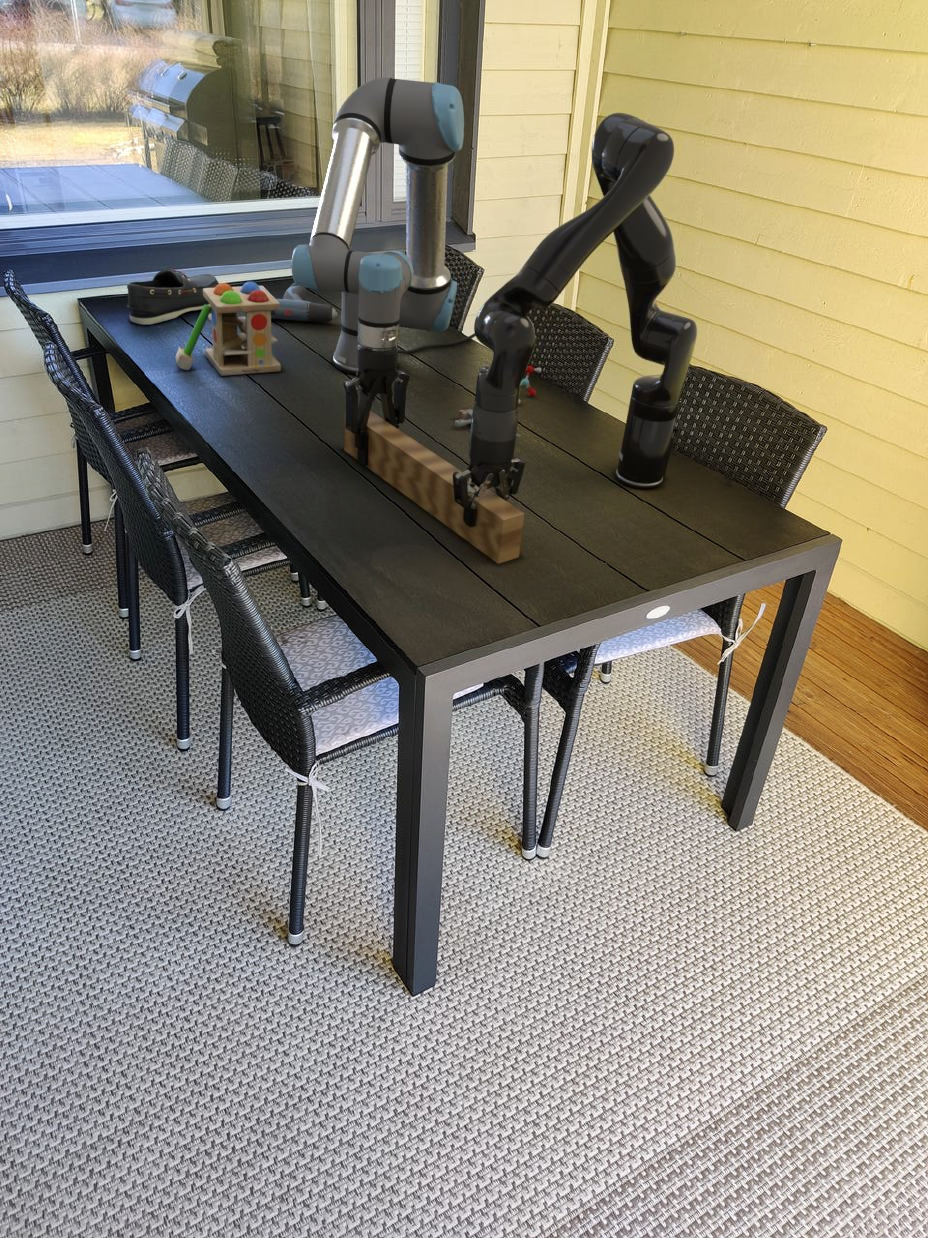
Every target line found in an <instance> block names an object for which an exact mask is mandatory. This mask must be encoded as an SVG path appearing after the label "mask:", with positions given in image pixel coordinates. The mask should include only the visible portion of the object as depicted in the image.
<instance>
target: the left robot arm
mask: <svg viewBox="0 0 928 1238" xmlns="http://www.w3.org/2000/svg"><path fill="white" fill-rule="evenodd" d="M463 103H464V102H463V98H462V95H461V92H460V91H459V89H458V88H457V87H456V86H454V85H450V84H444V83H440V82H438V81H435V82H430V81H429V82H428V81H420V80H410V79H400V78H392V77H386V76H385V77H377V78H373V79H371V80H368V81H366V82H364V83H363V84H362V85H360V86H359V87H357V88H356V89H355V90H354V91H352V93H351V94H350V95H348V97H347V98H346V99H345V101H344V102H343V103H342V104H341V107H340V108H339V110H338V112H337V113H336V116H335V119H334V121H333V126H332V129H331V138H332V141H333V142H334V144H333V147H332V151H331V156H330V159H329V163H328V168H327V172H326V176H325V180H324V184H323V187H322V190H321V191H322V192H321V196H320V200H319V204H318V207H317V212H316V216H315V219H314V224H313V227H312V231H311V236H310V241H309V243H307V244H298V245H296V247H294V249H293V252H292V257H291V275H292V276H291V277H292V279H293V283H296V284H297V285H299V286H303V287H306V289H307V288H309V289H313V290H323V291H330V292H331V291H333V292H340V293H341V313H340V314H341V316H340V317H341V319H340V321H341V324H340V325H341V326H340V329H341V330H340V336H339V338H338V341H337V344H336V348H335V350H334V352H333V361H332V362H333V363H332V364H333V366H334V367H335V368H337V369H338V370H339V371H342V372H344V373H347V374H352V375H355V377H354V378H353V379H351V380H348V379H346V380H344V381H343V383H342V384H343V388H344V391H345V411H346V426H345V425H344V428H345V427H346V429H348V430H349V431H350V432H352V433H353V434H355V447H356V448H357V449H358V455H357V459H356V461H357V462H358V463H360V465H363V467H366V466H368V446H369V434H367V433H366V427H367V423H368V419H369V415H370V411H371V410H372V406H373V402H374V401H375V400H376V396H377V395H379V397H380V403H381V407H382V413H383V420H385V421H386V422H388V423H389V424H391V425H392V426H394V427H395V428H397V429H398V430H399V428H400V425H399V424H401V425H402V424H404V423H405V419H406V402H407V386H408V383H409V381H410V375H409V374H408V373H406V372H405V371H403V370H398V367H397V366H398V364H399V354H403V355H407V354H413V353H416V352H419V351H422V350H425V349H431V348H440V347H449V346H454V345H458V344H461V343H465V342H467V341H469V340H472V339H474V338H475V337H476V335H475V332H474V333H472V334H470V335H469V336H466V337H464V338H460V339H457V340H453V341H449V342H442V343H431V344H424V345H421V346H418V347H414V348H411V349H406V350H402V349H399V347H398V344H399V341H400V340H399V339H400V328H405V329H414V330H422V331H427V332H429V333H430V332H438V333H439V332H441V333H442V332H445V331H446V330H448V328H449V325H450V323H451V318H452V314H453V310H454V305H455V300H456V296H457V290H458V283H457V281H455V280H453V279H451V278H452V275H451V270H450V269H449V268H448V267H447V266H446V265H445V262H446V261H445V260H446V259H445V258H446V257H445V256H446V255H445V254H446V227H447V226H446V223H447V195H448V194H447V192H448V191H447V190H448V165H449V164H450V163H451V162H453V161H454V159H455V158H456V153H458V152H459V151H461V150H462V148H463V144H464V138H465V129H464V128H465V114H464V104H463ZM383 143H386V144H391V145H398V156H399V158H400V159H401V160H402V161H403V162H404V163H405V164H406V165H405V171H406V173H405V174H406V175H405V176H406V177H405V184H406V185H405V187H406V191H405V193H406V194H405V195H406V197H405V202H406V205H405V206H406V207H405V209H406V211H405V212H406V213H405V214H406V216H405V217H406V223H405V224H406V226H405V227H406V228H405V231H406V232H405V233H406V234H405V235H406V236H405V238H406V241H405V243H406V247H405V249H406V253H403V252H402V251H399V250H393V249H392V250H388V251H384V252H383V253H373V252H365V251H358V250H357V251H355V250H351V245H352V241H353V238H354V237H353V236H354V232H355V228H356V224H357V219H358V216H359V211H360V208H361V203H362V199H363V195H364V190H365V185H366V181H367V178H368V174H369V169H370V164H371V160H372V157H373V156H374V155H375V154H377V152H378V151H379V148H380V145H381V144H383ZM393 384H394V385H393ZM392 385H393V387H392ZM359 386H360V389H359ZM358 392H359V393H358ZM359 397H360V398H359Z"/></svg>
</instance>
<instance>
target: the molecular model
mask: <svg viewBox="0 0 928 1238" xmlns="http://www.w3.org/2000/svg"><path fill="white" fill-rule="evenodd" d="M533 372H536V373H538V374H540V373H541V372H542V368H541V367H537V368H534V367H533V366H532V365H528V366H527V369H526V375H525V378H522V381H521V385H520V387H521V386H522V387H525V389H526V390H527V391H528V394H529V396H530V397H535V396H536V394H537V391H536V390H535V389H533V388H532V386H531V385H530V380H529V377H530V374H531V373H533ZM520 404H521V399H520V398H519V403H518V405H520Z"/></svg>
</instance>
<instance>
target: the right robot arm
mask: <svg viewBox="0 0 928 1238" xmlns="http://www.w3.org/2000/svg"><path fill="white" fill-rule="evenodd" d="M674 156H675V144H674V140H673V137H671V135H670V134H669V133H668V132H666V131H665V130H664V129H661V128H660V127H658V126H655V125H654V124H652V123H650V122H647V121H646V120H643V119H641V118H638V117H637V116H634V115H632V114H629V113H625V112H613V113H611V114H608V115H607V116H606V117H604V118H603V120H601V121H600V123H599V124H598V126H597V128H596V130H595V131H594V134H593V138H592V143H591V163H592V167H593V171H594V174H595V177H596V179H597V182H598V185H599V187H600V188H599V189H600V192H601V193H602V198H601V199H599V200H598V201H597V202H596V203H595V204H593V205H592V206H591V207H589V208H588V209H587V210H585V211H582V213H580V214H578V215H577V216H574V217H573V218H570V219H569V220H567V221H566V222H564V223H563V224H561V225H559V226H558V227H556V228H555V229H553V230H552V231H551V232H550V233H548V234H547V235H546V236H545V237H544V238H543V239H542V240H541V242H540V243H539V244H538V245H537V246H536V248H535V249H534V250H533V252H532V253H531V255H530V256H529V257H528V259H527V260H526V261H525V263H524V264H523V265H522V267H521V268H520V270H519V271H518V273H517V274H516V275H514V276H513V277H512V278H510V279H509V280H508V281H507V282H506V283H505V284H503V285H502V286H501V287H500V288H499V289H498V290H497V291H495V292H494V293H493V294H492V295H491V296H489V298H488V299H487V300H486V301H485V302H484V303H483V305H482V306H481V307H480V308H479V311H478V312H477V314H476V318H475V320H474V325H473V330H474V333H475V335H476V336H475V337H476V340H477V341H478V342H479V343H480V344H481V345H483V346H485V348H488V349H489V350H490V351H492V352H493V353H492V354H493V355H492V356H493V357H492V361H491V363H490V364H486V365H484V366H482V367H481V368H480V369H479V371H478V374H477V377H476V385H475V386H476V388H475V397H474V404H473V405H474V406H473V409H472V410H473V413H472V421H471V424H470V432H469V444H468V457H469V464H468V466H467V467H466V470H464V471H461V472H462V473H459V472H457V471H456V472H454V473H453V488H454V500H455V502H456V503H458V504H459V505H460V506H462V507H463V508H464V512H463V521H464V522H465V524H466V525H468V526H469V527H470V528H471V527H475V523H476V514H477V508H476V507H477V504H478V502H479V500H480V498H481V497H483V496H484V494H485V492H486V490H487V489H488V490H490V489H491V488H493V490H494V494H496V495H497V496H499V497H500V498H502V499H503V500H505V501H506V502H508V500H509V498H510V496H511V495H514V496H515V495H517V494H518V492H519V488H520V485H521V481H522V477H523V473H524V469H525V466H526V463H525V462H524V461H522V460H520V458H518V457H515V456H514V455H515V449H516V440H517V437H516V434H517V431H518V424H519V404H518V403H519V399H520V395H521V386H522V385H521V381H522V380H523V379H524V377H525V374H526V373H527V371H526V369H527V367H528V366H529V363H530V361H531V358H532V355H533V353H534V350H535V345H536V332H535V326H534V324H533V322H532V320H531V319H530V318H529V317H528V316H527V314H528V313H529V312H531V310H534V309H536V308H542V309H545V308H549V307H550V306H551V305H553V304H554V303H555V301H557V299H558V298H559V297H560V295H561V294H562V293H563V291H564V290H565V288H566V287H567V285H569V283H570V281H571V280H572V279H573V278H574V276H575V275H576V273H577V272H578V271H579V270H580V268H582V266H583V264H585V262H586V261H587V259H588V258H589V257H590V256H591V255H592V254H593V253H594V251H595V250H596V249H598V248H599V246H600V245H601V244H602V243H604V241H605V240H607V238H608V237H609V236H610V235H612V233H613V237H614V242H615V246H616V252H617V253H616V254H617V258H618V263H619V267H620V272H621V275H622V278H623V283H624V288H625V293H626V299H627V305H628V312H629V313H628V314H629V325H630V327H629V328H630V336H631V337H630V338H631V344H632V349H633V351H634V354H636V356H637V357H639V358H641V359H642V360H645V361H648V362H651V363H655V364H658V365H660V366H664V367H663V371H662V373H661V374H650V375H644V376H640V377H638V378H636V379H635V380H634V381H633V383H632V389H631V394H630V399H629V400H630V401H629V403H628V409H627V415H626V416H627V417H626V420H625V425H624V431H623V436H622V442H621V448H620V449H619V451H618V457H619V458H618V463H617V468H616V471H615V478H616V479H617V481H619V482H620V483H622V484H624V485H626V486H628V487H632V488H636V489H645V490H646V489H648V490H649V489H655V488H658V487H660V486H661V485H662V483H663V481H664V480H665V478H666V472H667V469H668V464H669V460H670V455H671V450H672V446H673V441H674V435H673V432H678V431H679V429H678V430H677V429H673V428H674V426H675V422H676V418H677V413H678V409H679V404H680V399H681V395H682V392H683V389H684V387H685V384H686V380H687V375H688V372H689V369H690V368H689V367H690V364H691V361H692V358H693V354H694V350H695V346H696V343H697V337H698V327H697V323H696V322H695V320H694V319H692V318H690V317H686V316H683V315H679V314H675V313H672V312H669V311H665V310H662V309H660V307H659V306H658V303H657V298H658V297H659V296H660V295H661V294H662V293H663V291H664V290H665V289H666V288H667V286H668V285H669V284H670V282H671V281H672V279H673V277H674V275H675V272H676V269H677V257H676V250H675V244H674V239H673V233H672V231H671V228H670V226H669V224H668V222H667V220H666V218H665V217H664V215H663V213H662V212H661V210H660V208H659V207H658V205H657V204H656V201H654V199H653V198H652V196H651V195H652V194H653V192H654V191H655V190H656V189H657V188H658V187H659V186H660V184H661V183H662V182H663V180H664V179H665V178H666V176H667V174H668V173H669V171H670V169H671V166H672V164H673V161H674ZM520 385H521V386H520ZM469 478H470V479H469ZM475 485H476V486H477V487H479V490H477V489H476V488H475ZM473 494H474V496H473V499H472V500H471V497H472V495H473Z"/></svg>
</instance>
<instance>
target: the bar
mask: <svg viewBox="0 0 928 1238" xmlns="http://www.w3.org/2000/svg"><path fill="white" fill-rule="evenodd" d="M345 426H346V410H344V440H343V441H344V447H343V449H344V452H346V453H347V454H348V455H350V456H351V457H352V458H354V459H355V460H357V455H358V449H357V448H356V447H355V434H353V433H352V432H350V431H349V430H348V429H346V427H345ZM366 433H367V434H369V446H368V466H365V468H367V469H369V470H370V471H372V472H373V473H374V474H375V475H377V476H378V477H379V478H381V479H382V480H383V481H385V482H386V483H388V484H389V485H390V486H392V487H393V488H395V489H396V490H397V491H399V492H400V493H401V494H403V495H404V496H406V497H407V498H408V499H410V501H412V502H413V503H415V504H416V505H417V506H419V507H420V508H421V509H423V510H424V511H426V512H427V513H428V514H430V515H431V516H432V517H434V518H435V519H437V520H438V521H439V522H440V523H442V524H443V525H445V526H446V527H448V528H449V529H450V530H452V531H453V532H454V533H456V534H457V536H460V537H461V538H462V539H464V540H465V541H466V542H468V543H469V544H470V545H472V546H473V547H475V548H476V550H478V551H480V552H481V553H482V554H484V555H485V556H487V557H488V558H489V559H491V560H492V561H493V562H495V563H496V564H497V565H499V564H503V563H505V562H508V561H512V560H515V559H518V558H519V557H520V551H521V544H522V537H523V536H522V535H523V529H524V521H525V513H524V512H523V511H521V510H520V509H519V508H517V507H515V506H514V505H513V504H512V503H510V502H508V501H507V502H506V501H505V500H503V499H502V498H500V497H499V496H497V494H496V493H495V492H493V491H491V490H490V489H487V490H486V492H485V494H484V496H483V497H481V498H480V500H479V502H478V504H477V507H476V508H477V514H476V523H475V527H471V528H470V527H469V526H468V525H466V524H465V522H464V521H463V512H464V508H463V507H462V506H460V505H459V504H458V503H456V502H455V500H454V488H453V473H454V472H456V471H457V472H459V473H462V472H463V471H462V470H461V469H459V468H457V467H455V466H454V465H452V464H451V463H450V462H448V461H446V460H445V459H444V458H442V457H441V456H439V455H437V454H436V453H435V452H433V451H432V450H430V449H429V448H428V447H426V446H424V445H423V444H421V443H419V442H418V441H417V440H415V439H414V438H412V437H410V436H409V435H407V434H406V433H404V432H403V431H401V430H400V429H399V428H398V429H397V428H395V427H394V426H392V425H391V424H389V423H388V422H386V421H385V420H384V418H382V417H380V416H379V415H377V414H376V413H375V412H373V411H371V410H370V415H369V419H368V423H367V427H366ZM469 479H470V478H469ZM475 488H476V489H477V490H479V487H477V486H476V485H475ZM473 496H474V494H473V495H472V497H471V500H472V499H473Z"/></svg>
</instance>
